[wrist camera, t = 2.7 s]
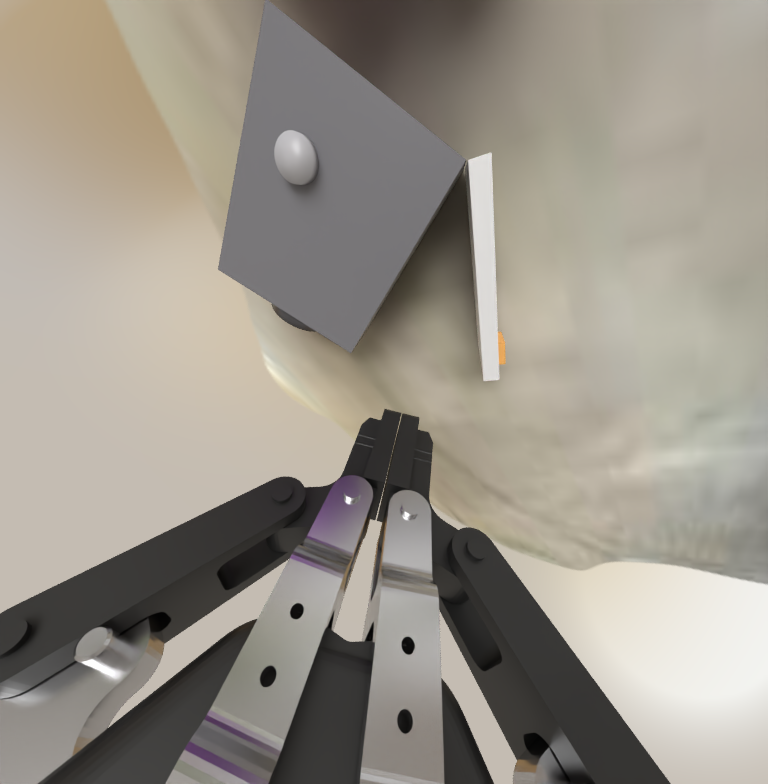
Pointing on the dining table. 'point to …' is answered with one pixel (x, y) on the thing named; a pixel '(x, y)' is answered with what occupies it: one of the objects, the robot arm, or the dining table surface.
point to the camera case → (327, 186)
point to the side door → (484, 263)
